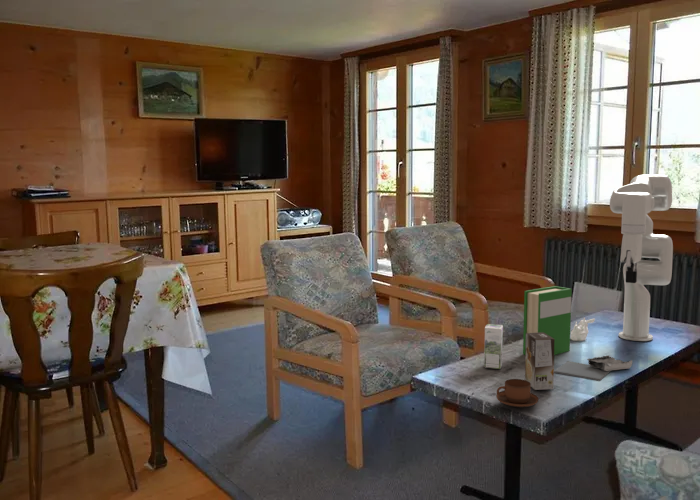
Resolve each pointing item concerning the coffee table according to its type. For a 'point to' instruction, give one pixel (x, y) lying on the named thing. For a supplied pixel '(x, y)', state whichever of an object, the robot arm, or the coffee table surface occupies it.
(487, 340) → the syrup box
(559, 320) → the hardback book
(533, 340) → the coffee box
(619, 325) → the coffee table surface
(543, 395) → the coffee table surface
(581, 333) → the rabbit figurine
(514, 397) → the cup and saucer
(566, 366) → the mat
